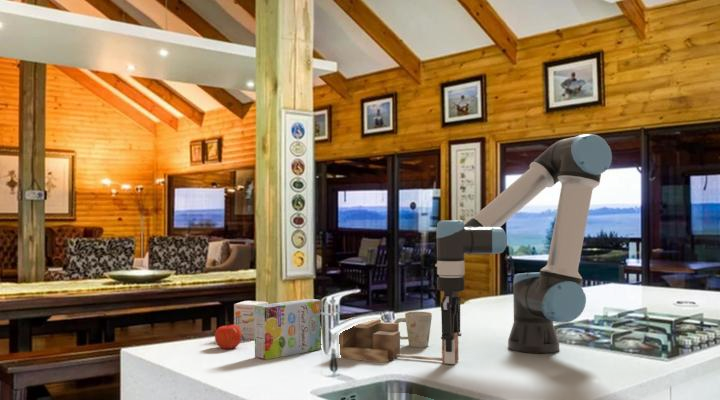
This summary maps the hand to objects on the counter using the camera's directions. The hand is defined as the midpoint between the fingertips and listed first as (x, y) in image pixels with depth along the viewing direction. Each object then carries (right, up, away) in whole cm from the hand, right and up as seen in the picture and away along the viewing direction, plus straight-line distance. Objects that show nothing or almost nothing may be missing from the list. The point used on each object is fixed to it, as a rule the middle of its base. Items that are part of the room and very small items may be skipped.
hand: (451, 361), depth 177 cm
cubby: (-22, -1, +9) cm, 24 cm away
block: (-10, 0, +4) cm, 10 cm away
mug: (-9, -1, +25) cm, 26 cm away
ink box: (-62, -2, +39) cm, 73 cm away
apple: (-66, -1, +21) cm, 69 cm away
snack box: (-46, -1, +13) cm, 48 cm away
